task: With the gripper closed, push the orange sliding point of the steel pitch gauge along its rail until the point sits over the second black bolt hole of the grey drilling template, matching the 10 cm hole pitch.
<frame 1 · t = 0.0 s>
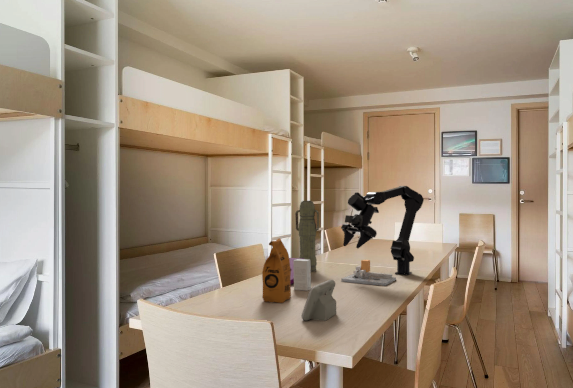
hand: (350, 247, 198), 15 cm above the table, tool tilted 35°, fingers open, 9 cm apart
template: (368, 280, 197), on the table
skincare box: (302, 289, 182), on the table
purple package: (289, 282, 198), on the table
slider: (364, 268, 201), point 5 cm above the table, slide at -3.0 cm
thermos: (307, 270, 226), on the table
coffee package: (276, 299, 166), on the table
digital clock: (319, 316, 143), on the table
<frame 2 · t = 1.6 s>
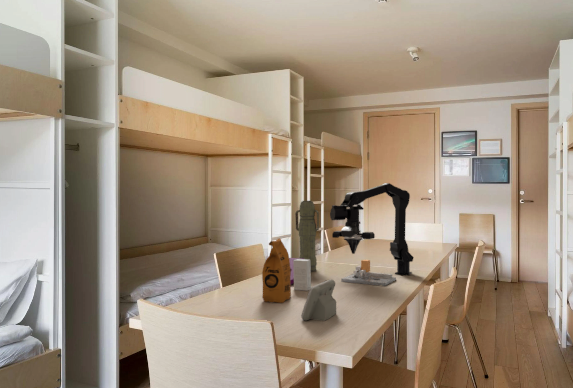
hand: (353, 253, 206), 11 cm above the table, tool pointing down, fingers closed
nothing on the table moved.
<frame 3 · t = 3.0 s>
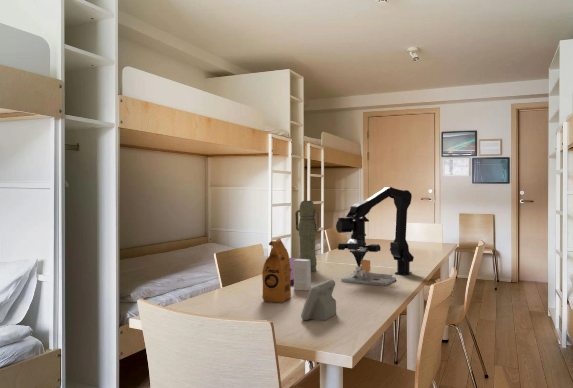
hand: (359, 266, 204), 5 cm above the table, tool pointing down, fingers closed
slider: (364, 268, 201), point 5 cm above the table, slide at -2.9 cm, touching gripper
everything else where it was.
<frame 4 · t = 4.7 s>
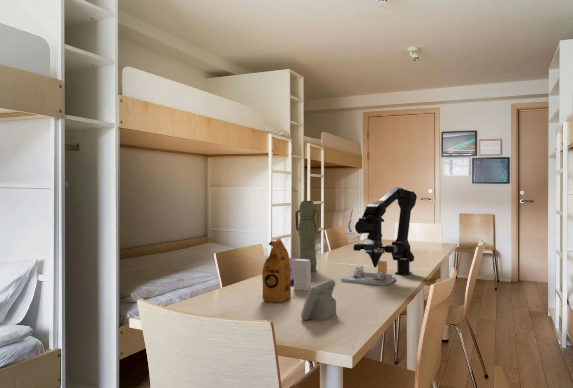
hand: (375, 267, 200), 5 cm above the table, tool pointing down, fingers closed
slider: (380, 269, 197), point 5 cm above the table, slide at 4.8 cm, touching gripper
everything else where it was.
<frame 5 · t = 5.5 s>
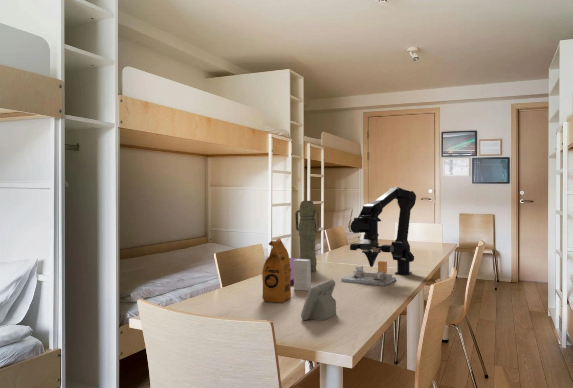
hand: (371, 266, 201), 6 cm above the table, tool pointing down, fingers closed
slider: (380, 269, 197), point 5 cm above the table, slide at 4.9 cm
everything else where it was.
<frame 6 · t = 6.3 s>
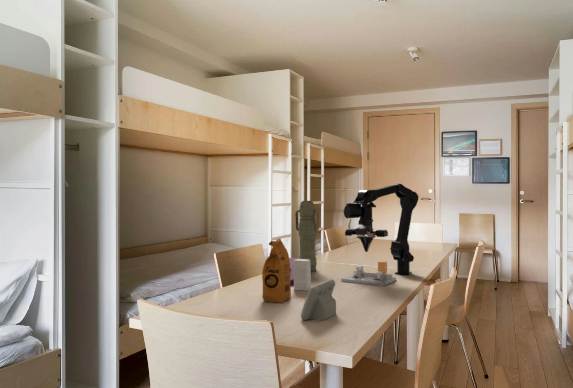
hand: (366, 251, 204), 12 cm above the table, tool pointing down, fingers closed
nothing on the table moved.
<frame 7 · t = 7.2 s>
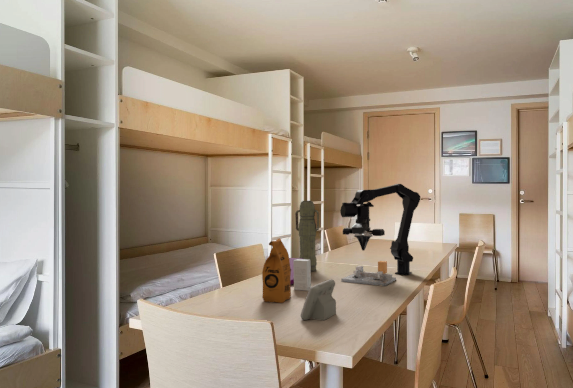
hand: (363, 250, 208), 12 cm above the table, tool pointing down, fingers closed
nothing on the table moved.
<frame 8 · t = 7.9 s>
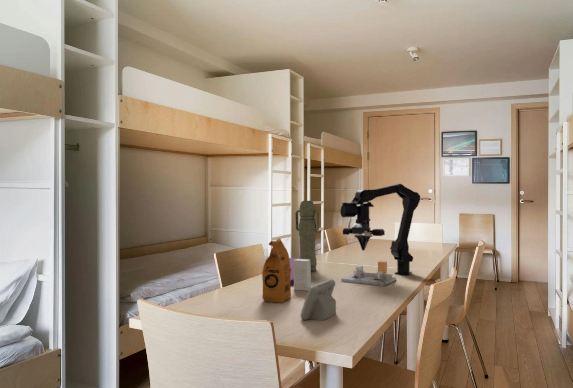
hand: (363, 250, 208), 12 cm above the table, tool pointing down, fingers closed
nothing on the table moved.
at the end: slider slide at 4.9 cm; the gripper is holding nothing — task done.
